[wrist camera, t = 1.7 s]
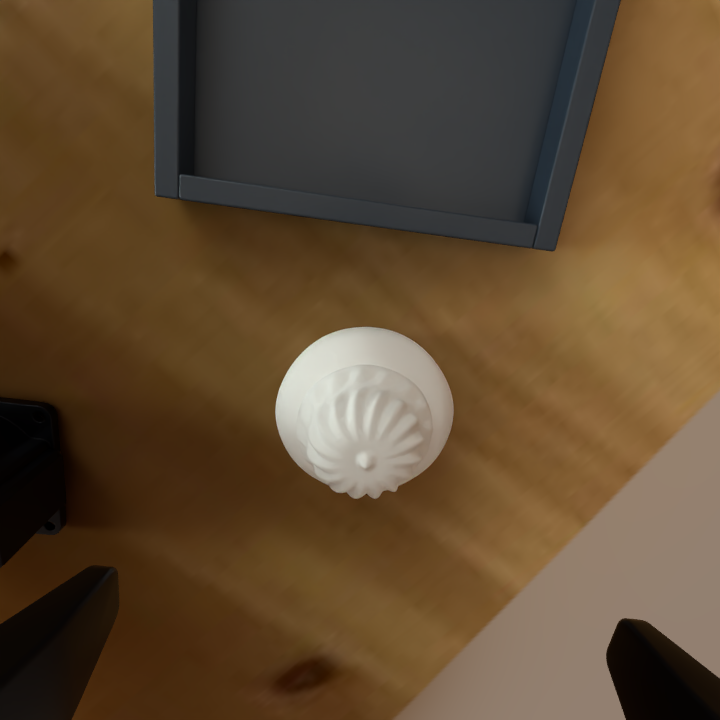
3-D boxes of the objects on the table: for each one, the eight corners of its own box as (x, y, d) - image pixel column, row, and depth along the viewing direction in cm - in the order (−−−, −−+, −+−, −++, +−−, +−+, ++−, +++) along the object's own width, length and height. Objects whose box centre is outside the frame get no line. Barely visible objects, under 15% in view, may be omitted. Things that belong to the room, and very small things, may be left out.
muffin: (294, 443, 20) (263, 559, 13) (284, 307, 18) (243, 364, 11) (433, 441, 20) (472, 555, 13) (439, 305, 18) (487, 360, 11)
